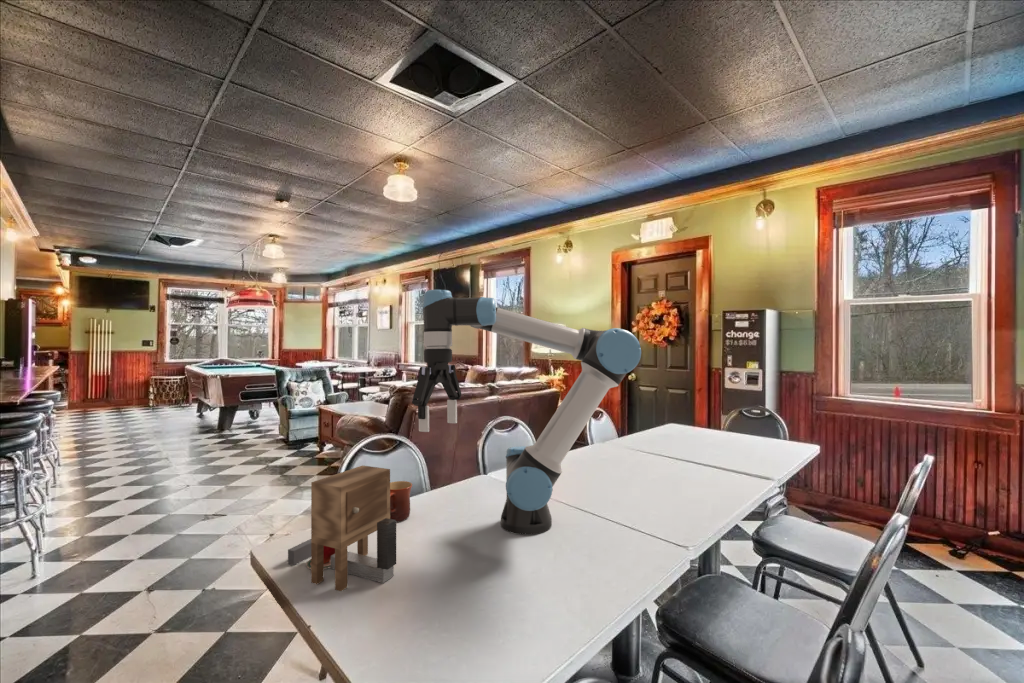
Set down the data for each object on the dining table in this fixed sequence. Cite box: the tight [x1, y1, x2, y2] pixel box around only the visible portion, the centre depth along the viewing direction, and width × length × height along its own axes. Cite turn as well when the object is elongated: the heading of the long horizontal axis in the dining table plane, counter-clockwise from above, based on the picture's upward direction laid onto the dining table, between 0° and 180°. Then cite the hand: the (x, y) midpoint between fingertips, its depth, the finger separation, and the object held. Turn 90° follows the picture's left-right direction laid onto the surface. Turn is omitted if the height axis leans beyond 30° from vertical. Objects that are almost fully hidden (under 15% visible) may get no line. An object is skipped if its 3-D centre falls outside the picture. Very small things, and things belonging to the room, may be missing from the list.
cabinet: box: [310, 464, 391, 592], centre depth 106 cm, size 10×16×22 cm, turn 155°
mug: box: [390, 480, 413, 523], centre depth 137 cm, size 12×9×10 cm
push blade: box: [330, 518, 397, 584], centre depth 105 cm, size 17×4×13 cm, turn 65°
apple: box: [305, 546, 335, 570], centre depth 110 cm, size 8×8×6 cm
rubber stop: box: [287, 538, 311, 567], centre depth 113 cm, size 2×8×4 cm, turn 155°
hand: (438, 427), depth 120 cm, fingers open, 13 cm apart
